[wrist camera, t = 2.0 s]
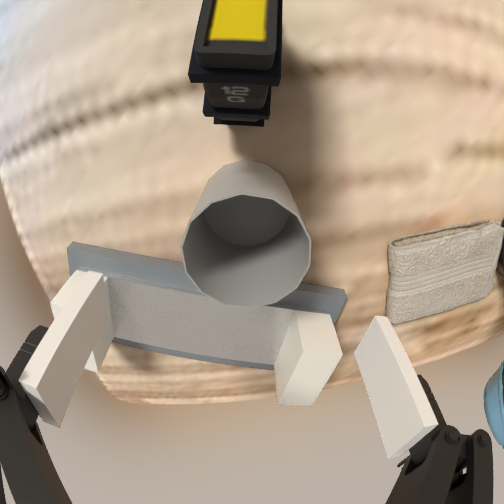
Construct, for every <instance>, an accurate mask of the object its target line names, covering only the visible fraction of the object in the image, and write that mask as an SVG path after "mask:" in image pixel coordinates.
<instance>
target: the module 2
mask: <svg viewBox="0 0 504 504" xmlns="http://www.w3.org/2000/svg"><path fill="white" fill-rule="evenodd" d="M342 355H343V354H342V350H341V347H340V344H339V341H338V338H337V334H336V331H335V328H334V325H333V322H332V319H331V316H330V314H322V313H314V312H306V311H298V310H295V312H294V315H293V317H292V320H291V323H290V325H289V328H288V331H287V333H286V336H285V338H284V341H283V343H282V346H281V349H280V351H279V354H278V356H277V359H276V361H275V364H274V371H275V383H276V395H277V404H279V405H296V406H298V405H299V406H312V404H313V403H314V401H315V399H316V398H317V396H318V395H319V393H320V392H321V390H322V389H323V387H324V385H325V384H326V382H327V381H328V379H329V377H330V376H331V374H332V372H333V371H334V369H335V367H336V366H337V364H338V362H339V361H340V359H341V357H342Z"/></svg>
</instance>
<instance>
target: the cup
mask: <svg viewBox="0 0 504 504" xmlns="http://www.w3.org/2000/svg"><path fill="white" fill-rule="evenodd" d="M180 248H181V253H182V259H183V264H184V269H185V273H186V274H187V275H188V277H189V278H190V279H191V281H192V282H193V283H194V285H195V286H196V287H197V288H198V290H199V291H200V292H201V293H202V294H204V295H206V296H208V297H210V298H211V299H213V300H215V301H217V302H219V303H221V304H222V305H226V306H233V307H241V308H249V309H251V308H256V307H260V306H264V305H268V304H273V303H276V302H278V301H279V300H281V299H282V298H284V297H285V296H286V295H288V294H289V293H291V292H292V291H294V290H295V289H296V288H298V286H299V284H300V283H301V281H302V279H303V277H304V276H305V274H306V272H307V271H308V269H309V267H310V261H311V238H310V235H309V233H308V231H307V228H306V226H305V223H304V221H303V219H302V216H301V214H300V212H299V209H298V207H297V205H296V202H295V200H294V198H293V196H292V193H291V191H290V189H289V187H288V186H287V184H286V182H285V180H284V178H283V176H282V175H281V174H280V173H278V172H277V171H276V170H274V169H273V168H271V167H270V166H268V165H267V164H266V163H261V162H255V161H249V160H241V161H238V162H235V163H231V164H228V165H224V166H223V167H222V168H221V169H220V170H219V171H217V172H216V173H215V174H214V175H213V176H212V177H211V178H210V179H209V180H208V182H207V184H206V186H205V189H204V191H203V193H202V195H201V197H200V199H199V201H198V203H197V205H196V207H195V210H194V212H193V214H192V216H191V218H190V220H189V223H188V226H187V229H186V232H185V235H184V238H183V241H182V244H181V247H180Z"/></svg>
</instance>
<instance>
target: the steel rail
mask: <svg viewBox="0 0 504 504" xmlns="http://www.w3.org/2000/svg"><path fill="white" fill-rule="evenodd" d="M77 270H79V271H84V272H88V271H93V272H98V273H102V274H103V276H106V277H108V286H109V297H110V307H111V317H112V325H113V333H114V337H117V338H121V339H125V340H130V341H134V342H138V343H143V344H147V345H152V346H156V347H161V348H166V349H171V350H176V351H182V352H187V353H193V354H198V355H204V356H211V357H217V358H224V359H231V360H238V361H245V362H253V363H262V364H271V365H274V364H275V361H276V359H277V356H278V354H279V351H280V349H281V346H282V343H283V341H284V338H285V336H286V333H287V331H288V328H289V325H290V323H291V320H292V317H293V315H294V312H295V310H298V311H306V312H314V313H322V314H330V313H329V310H325V309H318V308H310V307H303V306H295V305H288V304H281V303H273V304H268V305H264V306H260V307H256V308H251V309H249V308H241V307H233V306H226V305H222V304H221V303H219V302H217V301H215V300H213V299H211V298H210V297H208V296H206V295H204V294H202V293H201V292H200V291H199V290H195V289H189V288H184V287H178V286H173V285H168V284H163V283H157V282H152V281H147V280H142V279H137V278H132V277H128V276H123V275H118V274H113V273H109V272H104V271H99V270H95V269H90V268H86V267H82V266H79V267H78V268H77Z"/></svg>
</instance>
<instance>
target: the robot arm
mask: <svg viewBox="0 0 504 504" xmlns="http://www.w3.org/2000/svg"><path fill="white" fill-rule="evenodd" d="M501 227H503V228H504V220H503V223H502V225H501ZM497 269H498V271H499V273H500V274H501V275H502V276H503V277H504V235H503V241H502V247H501V251H500V255H499V259H498V263H497ZM107 319H108V316H107V308H106V299H105V288H104V277H103V274H102V273H98V272H93V271H88V273H87V274H86V275H85V277H84V278H83V279H82V281H81V282H80V283H79V285H78V286H77V288H76V289H75V290H74V292H73V293H72V295H71V296H70V298H69V299H68V300H67V302H66V303H65V305H64V306H63V308H62V309H61V311H60V312H59V314H58V315H57V317H56V318H55V320H54V321H53V323H52V324H51V326H50V328H47V327H44V326H41V325H40V326H38V327H37V328H36V329H34V330H33V331H31V333H30V334H29V335H28V337H27V339H26V340H25V343H23V345H22V346H21V348H20V350H19V351H18V353H17V354H16V356H15V358H14V359H13V361H12V363H11V364H10V366H9V368H8V369H7V371H6V372H5V370H4V369H3V368H2V367H1V366H0V461H1V465H2V468H3V471H4V474H5V477H6V479H7V482H8V485H9V488H10V490H11V493H12V495H13V498H14V500H15V503H16V504H72V502H71V500H70V498H69V496H68V494H67V493H66V491H65V489H64V487H63V484H62V482H61V480H60V478H59V476H58V474H57V472H56V470H55V467H54V465H53V463H52V460H51V458H50V456H49V453H48V451H47V449H46V446H45V443H44V441H43V438H42V435H41V432H40V429H39V426H38V424H37V422H36V420H37V417H38V415H40V417H41V418H42V419H43V421H44V422H46V423H49V424H51V425H54V426H56V427H59V428H60V426H61V423H62V421H63V418H64V415H65V413H66V410H67V408H68V405H69V403H70V400H71V398H72V395H73V393H74V391H75V388H76V386H77V383H78V381H79V379H80V377H81V374H82V372H83V370H84V368H85V365H86V363H87V361H88V359H89V357H90V354H91V352H92V350H93V348H94V346H95V344H96V342H97V340H98V337H99V335H100V333H101V331H102V329H103V327H104V325H105V323H106V321H107ZM354 355H355V358H356V361H357V364H358V367H359V370H360V373H361V376H362V379H363V381H364V384H365V387H366V390H367V393H368V397H369V400H370V403H371V406H372V409H373V412H374V415H375V419H376V422H377V425H378V428H379V432H380V435H381V438H382V442H383V445H384V449H385V452H386V456H387V458H394V457H399V456H402V455H403V454H404V453H405V452H407V451H408V450H409V452H410V455H409V456H408V457H407V458H405V459H404V460H403V461H401V462H400V463H399V464H398V466H397V467H400V466H401V465H403V464H404V463H405V464H404V466H403V467H402V471H401V473H400V475H399V477H398V479H397V482H396V484H395V486H394V488H393V490H392V492H391V494H390V496H389V498H388V500H387V502H386V504H493V455H492V442H491V438H490V436H489V434H488V433H487V432H486V431H484V430H482V429H478V430H477V431H475V432H474V433H473V434H472V435H462V434H460V433H459V431H458V430H457V429H456V428H455V427H453V426H450V425H447V424H446V422H445V420H444V418H443V415H442V413H441V411H440V409H439V406H438V404H437V402H436V400H435V398H434V395H433V393H431V389H430V387H429V385H428V383H427V381H426V380H425V379H424V378H423V377H422V376H421V375H416V373H415V371H414V369H413V366H412V364H411V362H410V360H409V358H408V356H407V354H406V352H405V350H404V348H403V346H402V344H401V342H400V340H399V338H398V336H397V335H396V333H395V331H394V329H393V327H392V325H391V323H390V321H389V319H388V318H387V317H384V316H375V317H374V318H373V320H372V322H371V324H370V326H369V328H368V329H367V331H366V333H365V335H364V336H363V338H362V340H361V342H360V343H359V345H358V347H357V349H356V350H355V352H354ZM484 408H485V414H486V418H487V421H488V424H489V427H490V429H491V431H492V434H493V436H494V438H495V439H496V441H497V442H498V443H499V445H502V447H503V449H504V361H503V362H502V364H501V366H500V367H499V369H498V370H497V371H496V372H495V373H494V375H493V376H492V377H491V378H490V379H489V381H488V382H487V384H486V387H485V390H484ZM1 465H0V504H6V500H5V494H4V488H3V481H2V473H1ZM466 467H467V469H466V473H465V474H463V469H464V468H466Z"/></svg>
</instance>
